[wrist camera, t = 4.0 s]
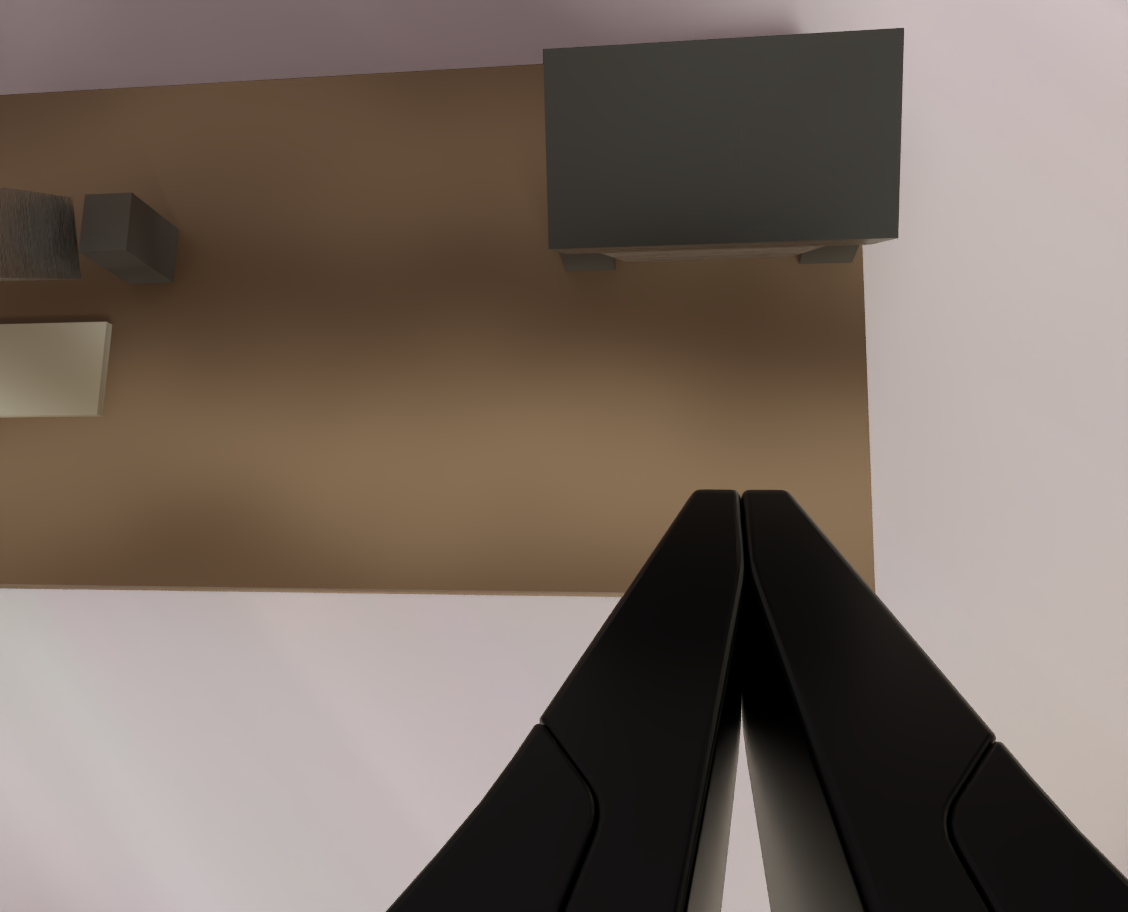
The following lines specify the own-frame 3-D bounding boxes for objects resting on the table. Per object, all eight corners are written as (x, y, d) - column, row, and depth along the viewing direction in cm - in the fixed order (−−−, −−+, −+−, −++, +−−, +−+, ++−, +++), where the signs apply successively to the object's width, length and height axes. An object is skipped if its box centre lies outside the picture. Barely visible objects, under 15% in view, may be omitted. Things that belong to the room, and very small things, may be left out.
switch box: (857, 599, 20) (894, 591, 16) (-46, 587, 23) (-191, 577, 19) (840, 98, 22) (869, -11, 18) (11, 140, 25) (-110, 52, 21)
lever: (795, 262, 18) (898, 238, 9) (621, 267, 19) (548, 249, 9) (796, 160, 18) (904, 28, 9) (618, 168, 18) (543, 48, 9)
